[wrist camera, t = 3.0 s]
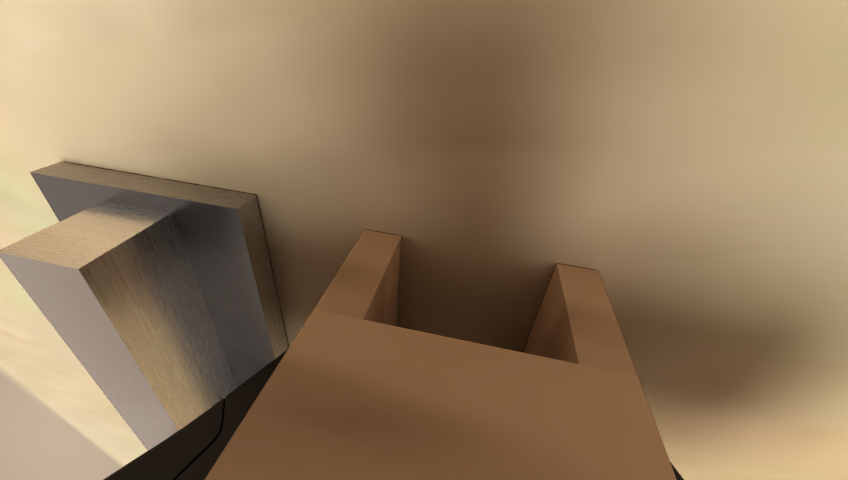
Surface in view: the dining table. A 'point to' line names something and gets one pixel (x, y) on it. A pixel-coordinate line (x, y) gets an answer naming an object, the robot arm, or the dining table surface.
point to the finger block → (448, 393)
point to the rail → (153, 290)
